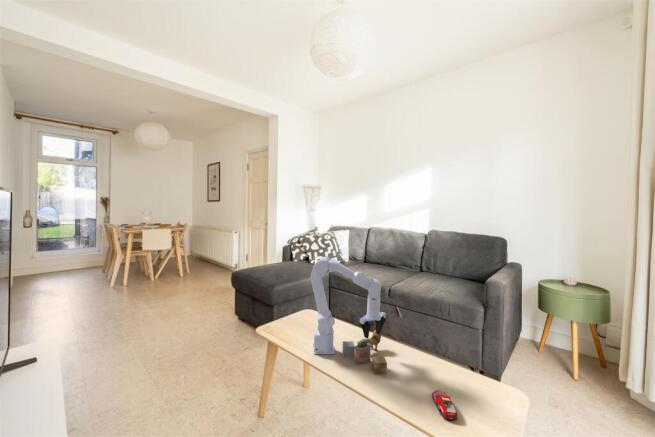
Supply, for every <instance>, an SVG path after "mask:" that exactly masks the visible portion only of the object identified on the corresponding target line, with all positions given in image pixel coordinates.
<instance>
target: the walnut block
mask: <svg viewBox="0 0 655 437" xmlns="http://www.w3.org/2000/svg"><path fill="white" fill-rule="evenodd" d="M371 359H372V362H371V364H372V366H371V370H372V371H373V375H388V374H387V372H388V371H387V370H388V362H387V360H386V357H385V356H383V355H382V356H381V355H380V356H375V355H374V356H372V358H371Z"/></svg>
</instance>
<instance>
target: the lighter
mask: <svg viewBox="0 0 655 437" xmlns="http://www.w3.org/2000/svg"><path fill="white" fill-rule="evenodd" d="M369 342H370V340H369V339H367V338H366V339H365V340H362V339H360V340H359V341H358V340H357V344H356V345H354V346H355V356H354V361H353V362H354V365H355V366H361V365H366V364H369V363H370V362H371V359H372V358H371V350H372V349H371V344H370V343H369Z"/></svg>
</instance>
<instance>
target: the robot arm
mask: <svg viewBox="0 0 655 437" xmlns="http://www.w3.org/2000/svg"><path fill="white" fill-rule="evenodd" d="M327 272H328V273H333V272H337V273H340V275H341V274H342V275H344V276H346V277H347V278H350V279H351V280H352V282H353V284H356V285H357V286H359V287H360V288H363V289H364V290H367V292H368V295H367V305H366V306H367V307H366V308H367V309H366V314H364V316H363V317H361V318H359V324H360V327H361V329H362V333H363V337H364V338H366V339H368V338H370V330H371V327H372V324H370V322H372V321H374V322H375V330H376V333H378V334H380V333H381V334H382V329H383V327H384V324H385V323H386V322H387V319H386V316H387V313H386V312H383V311H381V291H382V282H381V281H380V280H379V279H378V278H377V277H376V278H374V277H373V276H370V275H367V274H365V272H364V271H359V270H358V271H354V270H352V269H350V268H349V267H347V266H345V265H343V264H342V263H340V262H339V261H337V260H335V258H331V257H329V256H323V257H321V258H320V259H319V260H317V261H316V262H315V263H314V265H313V266H312V271H311V274H310V277H309V278H310V282H311V287H312V290H313V297H314V300H315V305H316V310H317V314H318V315H317V322H318V323H317V331H314V332H313V333H314V334H313V344H312V345H313V346H312V347H313V354H314V355H335V347H334V332H335V331H334V328H333V327H334V325H335V321H336V320H335V317H334V316H333V315H332V312H331V310H330V309H329V304H328V300H327V295H326V293H325V288H324V283H323V277H324V275H325V274H326V273H327ZM380 311H381V312H380Z"/></svg>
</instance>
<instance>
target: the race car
mask: <svg viewBox="0 0 655 437" xmlns="http://www.w3.org/2000/svg"><path fill="white" fill-rule="evenodd" d="M431 397H432V399H433V401H434V404H435V405H436V408H437V410H438V412H439V414H440V416H441V417H442V418H443V419H445V420H449V421H450V420H451V421H456V420H458V412H457V409H456V408H455V406H454V403H453V401H452V400H451V396H449V395H448V394H447V393H446V392H445V391H442V390H439V389H437V390H434V391H432V393H431Z"/></svg>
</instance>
